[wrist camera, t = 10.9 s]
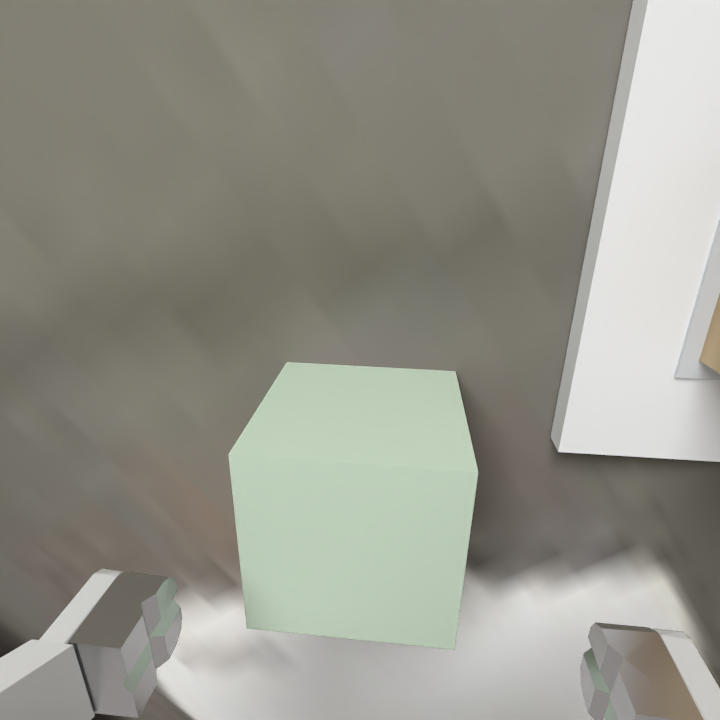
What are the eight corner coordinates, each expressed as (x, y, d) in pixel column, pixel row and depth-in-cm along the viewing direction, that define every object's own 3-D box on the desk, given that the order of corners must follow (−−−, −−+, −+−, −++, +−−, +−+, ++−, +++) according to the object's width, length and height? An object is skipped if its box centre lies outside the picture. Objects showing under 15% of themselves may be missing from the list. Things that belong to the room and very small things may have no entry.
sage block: (293, 496, 16) (246, 628, 11) (287, 361, 14) (228, 454, 10) (441, 508, 16) (454, 649, 11) (455, 370, 14) (478, 472, 9)
